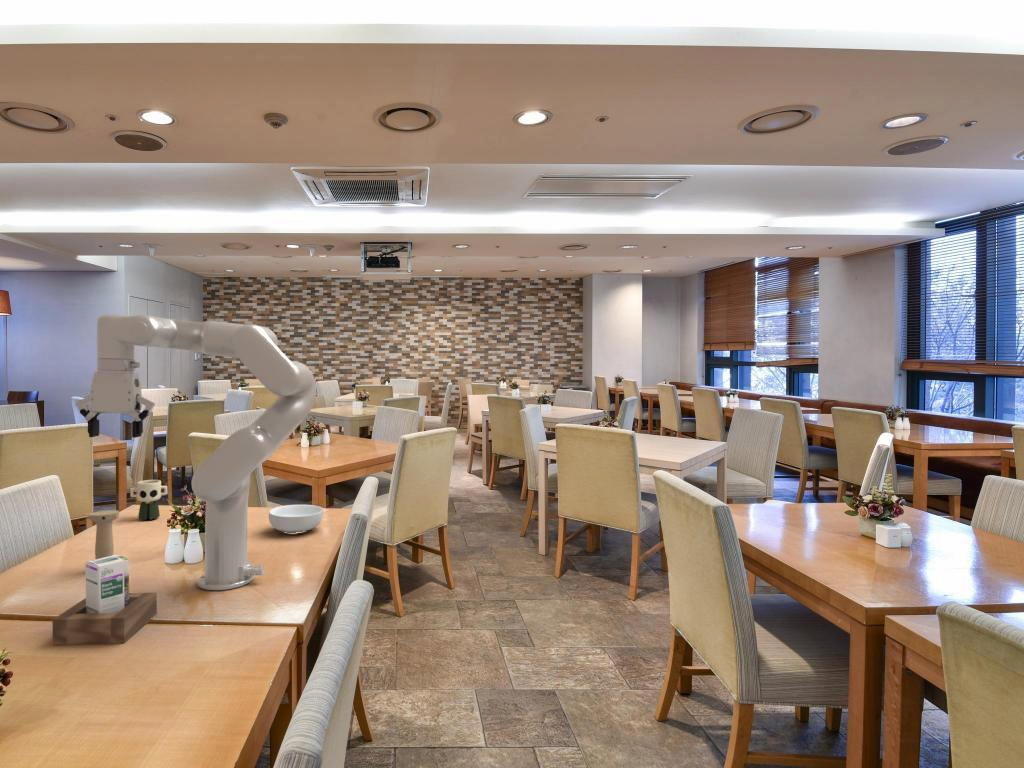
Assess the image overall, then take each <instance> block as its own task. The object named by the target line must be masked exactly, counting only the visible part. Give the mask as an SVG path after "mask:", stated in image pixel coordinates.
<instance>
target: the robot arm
mask: <svg viewBox="0 0 1024 768" xmlns="http://www.w3.org/2000/svg"><path fill="white" fill-rule="evenodd" d="M96 322H97V324H96V328H97V329H96V338H97V339H96V345H97V346H96V371H94V373H93V375H92V379H91V384H90V391H89V394H90V395H89V396H86V397H84V398H82V399H80V400H77V401H76V402H75V405H76V407H77V410H79V414H80V415H81V416H83V417H84V419H85V421H87V433H88V437H89V438H94V437H99V436H100V419H98V417H99V416H100V415H101V414H129V415H130V417H132V418H133V421H132V422H131V438H134V439H135V438H139V437H142V434H143V432H144V425H143V424H144V421H145V420H146V418H147V417H148V416H150V414H151V413H152V411H153V409H154V407H155V405H156V404H155V402H153V401H151V400H149V399H147V398H146V397H143V395H142V394H143V393H142V385H141V380H140V375H139V372H135V371H136V368H137V369H139V368H140V366H141V363H140V362H136V359H135V346H139V347H147V348H148V347H151V348H152V347H153V348H154V347H155V348H163V349H173V350H174V349H177V350H186V351H192V352H194V351H195V352H200V353H201V354H203V355H207V356H215V357H225V358H233V359H234V358H235V359H239V360H240V362H241V363H242V364H243V365H244V366H245V367H246V368H247V369H248V370H249V371H250V372H251V373H252V375H253V376H255V378H256V379H257V380H258V381H259V382H260V383H261V384H262V385H263V386H264V387H265V389H267V390H268V391H269V392H270V393H272V394H274V395H275V396H278V397H277V398H276V399H275V401H274V402H272V403H271V404H270V405H269V406H268V407H267V408H266V409H265V410H264V412H263V413H262V414H261V415H260V416H259V417H258V418H257V419H255V421H253V423H251V424H249V425H248V426H246V427H243V428H240V429H238V430H236V431H234V432H233V433H231V435H228V437H227V438H226V439H224V441H223V442H222V443H220V445H219V446H218V447H217V448H216V449H215V450H214V451H213V452H212V453H211V454H210V455H209V456H208V457H207V458H206V459H205V460H204V461H203V462H202V463H201V464H200V465H199V466H198V468H196V470H195V472H194V473H193V475H192V477H191V490H192V492H193V494H194V495H195V497H197V498H198V499H199V500H201V501H203V502H206V503H205V515H204V517H205V522H204V523H205V525H204V531H205V533H204V574H203V575H201V576H200V577H199V578H198V579H197V586H198V588H200V589H202V590H208V591H225V590H231V589H237V588H239V587H242V586H245V585H247V584H249V583H250V582H252V581H253V580H254V576H263V575H264V574H265V568H264V567H263V566H262V565H261V564H260V565H259V564H258V565H256V564H255V565H253V564H251V563H252V561H251V559H248V508H249V507H248V506H249V505H248V503H249V493H250V485H251V474H252V472H254V470H256V468H257V467H258V466H260V465H261V464H262V463H264V462H265V461H267V460H269V459H270V458H271V457H272V456H273V455H274V453H275V452H276V451H277V450H278V449H279V448H280V446H281V445H282V444H283V443H285V441H286V440H287V439H288V438H289V437H290V436H291V435H292V433H293V432H294V431H295V430H296V429H297V428H298V427H299V426H300V424H302V423H303V422H304V420H305V419H306V417H307V416H308V415H309V414H310V412H311V410H312V409H313V408H314V407H313V406H314V404H315V401H316V397H317V384H316V380H315V377H314V374H313V372H312V371H311V369H310V368H309V367H308V366H307V365H305V364H304V363H302V362H299V361H296V360H290V359H289V358H288V356H286V355H285V354H284V352H282V351H281V349H280V348H279V347H278V346H279V342H278V337H277V335H276V334H275V332H274V331H272V330H271V329H270V328H268V327H266V326H261V325H256V324H242V323H234V322H226V321H217V320H206V321H190V320H182V319H173V318H166V317H161V316H160V317H159V316H155V315H147V314H140V315H139V314H138V315H137V314H135V315H127V316H125V315H118V314H117V315H116V314H104V315H103V314H102V315H100V316H99V317H98V318H97V321H96ZM87 404H89V409H90V410H89V409H88V408H87ZM143 405H144V409H143ZM142 409H143V410H142ZM141 410H142V411H141Z"/></svg>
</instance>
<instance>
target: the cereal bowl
mask: <svg viewBox="0 0 1024 768" xmlns="http://www.w3.org/2000/svg"><path fill="white" fill-rule="evenodd" d="M323 516H324V508H323V507H321V506H319V505H313V504H287V505H281V506H277V507H273V508H271V509H270V510H269V511H268V520H269V524H270V525H271V526H272V527H273V528H274V529H275V530H278V531H280V532H282V533H283V532H287V533H296V532H303V531H307V530H309V531H310V530H313V529H314V528H317V527H318V526H319V525H320V524H321V522H322V520H323ZM307 532H308V531H307Z"/></svg>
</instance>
